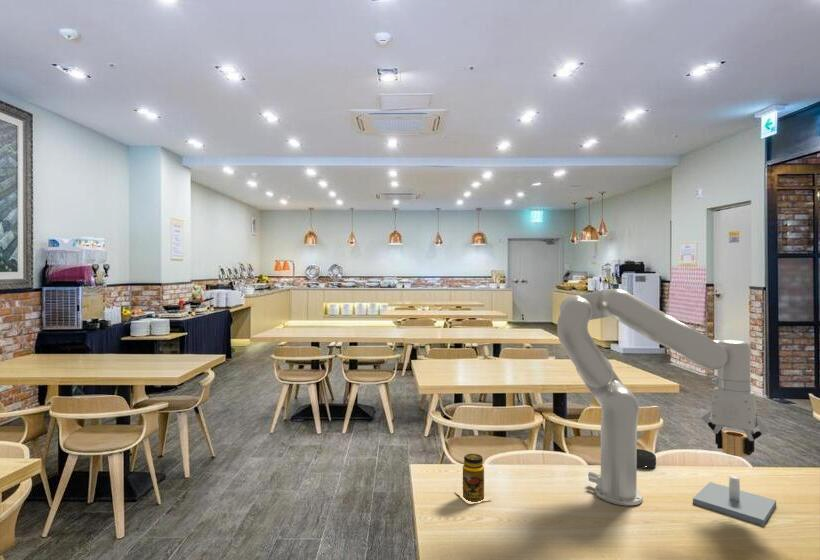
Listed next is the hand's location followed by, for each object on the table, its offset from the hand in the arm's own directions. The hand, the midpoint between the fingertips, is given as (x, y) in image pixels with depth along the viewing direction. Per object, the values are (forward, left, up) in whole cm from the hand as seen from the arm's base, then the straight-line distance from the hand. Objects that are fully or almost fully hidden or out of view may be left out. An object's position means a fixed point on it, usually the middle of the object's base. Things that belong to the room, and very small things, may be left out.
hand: (734, 450), depth 127 cm
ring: (0, 0, -1) cm, 1 cm away
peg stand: (-1, +2, -16) cm, 16 cm away
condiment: (-53, -49, -16) cm, 74 cm away
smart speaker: (-30, +13, -16) cm, 36 cm away
